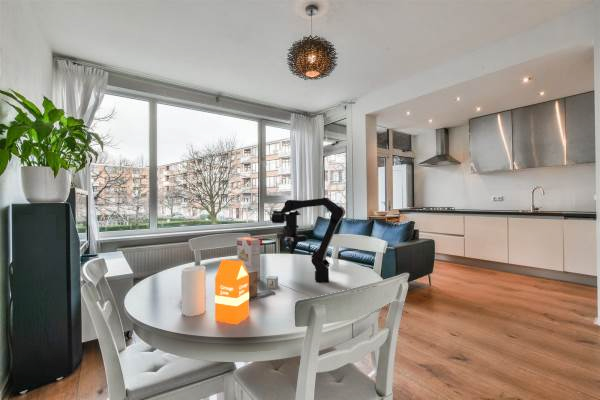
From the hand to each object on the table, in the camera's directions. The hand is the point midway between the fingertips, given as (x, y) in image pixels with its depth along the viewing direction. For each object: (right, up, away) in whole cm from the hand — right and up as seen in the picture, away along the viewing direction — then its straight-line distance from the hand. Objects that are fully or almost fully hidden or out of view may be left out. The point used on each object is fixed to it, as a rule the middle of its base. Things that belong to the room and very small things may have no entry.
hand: (291, 253), depth 148 cm
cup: (-35, -13, -44) cm, 58 cm away
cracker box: (-23, -13, +1) cm, 26 cm away
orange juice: (-19, -13, -50) cm, 55 cm away
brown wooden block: (-19, -12, -32) cm, 39 cm away
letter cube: (-9, -13, -14) cm, 21 cm away
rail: (-16, -13, -30) cm, 37 cm away
